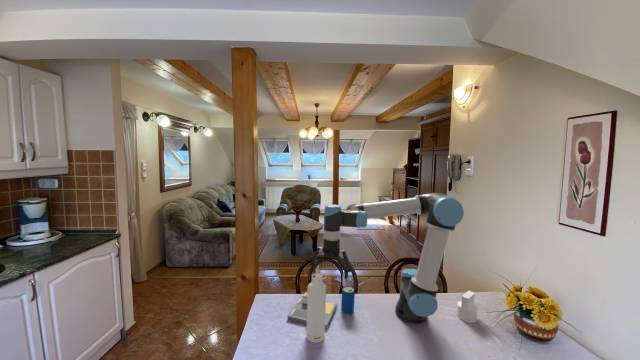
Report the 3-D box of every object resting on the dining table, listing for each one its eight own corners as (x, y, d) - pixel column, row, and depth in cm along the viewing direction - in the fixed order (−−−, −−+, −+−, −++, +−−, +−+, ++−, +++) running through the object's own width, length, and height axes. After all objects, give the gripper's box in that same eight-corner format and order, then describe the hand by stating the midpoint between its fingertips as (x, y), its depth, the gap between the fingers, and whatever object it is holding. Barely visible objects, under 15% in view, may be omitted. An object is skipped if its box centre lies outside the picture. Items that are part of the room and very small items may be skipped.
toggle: (312, 300, 139) (312, 293, 138) (309, 304, 135) (309, 297, 135) (305, 299, 140) (305, 292, 140) (302, 303, 136) (302, 295, 136)
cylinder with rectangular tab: (472, 325, 126) (475, 301, 125) (453, 316, 133) (455, 293, 132) (479, 317, 132) (481, 295, 131) (460, 309, 139) (462, 288, 138)
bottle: (318, 345, 110) (320, 282, 107) (302, 338, 114) (304, 277, 111) (327, 333, 117) (329, 274, 114) (312, 327, 121) (314, 269, 118)
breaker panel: (336, 307, 137) (336, 303, 137) (326, 329, 120) (327, 324, 120) (301, 300, 143) (301, 296, 143) (287, 319, 126) (287, 315, 126)
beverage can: (350, 316, 130) (351, 294, 129) (338, 312, 133) (339, 290, 132) (355, 310, 135) (356, 288, 134) (344, 306, 139) (345, 284, 137)
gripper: (359, 239, 120) (357, 283, 122) (309, 232, 127) (308, 274, 129) (356, 244, 112) (354, 291, 115) (303, 237, 120) (302, 281, 122)
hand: (330, 282), depth 122 cm, fingers open, 12 cm apart
